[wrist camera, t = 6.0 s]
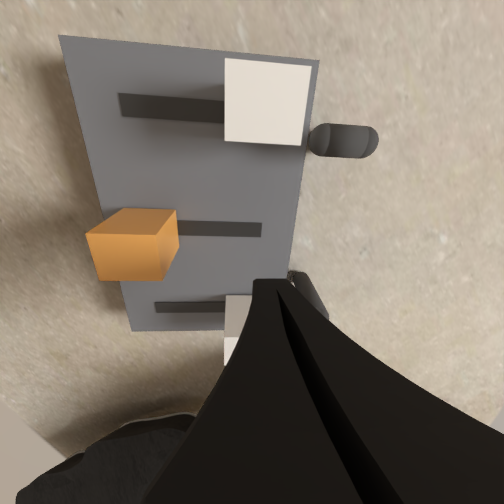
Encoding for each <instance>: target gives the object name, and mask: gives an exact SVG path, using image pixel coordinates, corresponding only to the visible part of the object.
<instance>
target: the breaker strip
mask: <svg viewBox="0 0 504 504" xmlns="http://www.w3.org/2000/svg"><path fill="white" fill-rule="evenodd" d="M58 37H59V41H60V45H61V49H62V53H63V57H64V61H65V65H66V69H67V73H68V77H69V81H70V85H71V89H72V93H73V97H74V101H75V105H76V109H77V113H78V117H79V121H80V125H81V129H82V134H83V138H84V142H85V146H86V150H87V154H88V158H89V162H90V166H91V170H92V174H93V178H94V182H95V186H96V190H97V194H98V198H99V202H100V206H101V210H102V214H103V218H104V221H105V220H106V219H108V218H109V217H111V216H112V215H114V214H115V213H117V212H118V211H120V210H121V209H123V208H145V209H175V210H176V218H177V228H178V238H179V248H178V250H177V252H176V254H175V256H174V259H173V261H172V263H171V265H170V267H169V269H168V271H167V273H166V275H165V277H164V279H163V281H119V282H120V286H121V290H122V294H123V298H124V302H125V306H126V310H127V314H128V318H129V322H130V326H131V330H132V331H200V330H224V329H225V306H226V295H252V287H253V280H255V279H265V278H287V273H288V266H289V260H290V253H291V246H292V240H293V233H294V226H295V220H296V213H297V207H298V200H299V193H300V187H301V180H302V173H303V167H304V160H305V153H306V147H307V140H308V133H309V127H310V120H311V113H312V107H313V100H314V94H315V87H316V80H317V74H318V67H319V60H311V59H301V58H291V57H280V56H270V55H260V54H250V53H240V52H230V51H219V50H209V49H199V48H189V47H179V46H168V45H158V44H148V43H138V42H128V41H117V40H107V39H97V38H87V37H77V36H67V35H58ZM225 58H231V59H241V60H252V61H262V62H273V63H283V64H293V65H304V66H312V68H311V75H310V82H309V89H308V97H307V104H306V111H305V118H304V125H303V132H302V140H301V146H299V145H283V144H267V143H251V142H234V141H225Z"/></svg>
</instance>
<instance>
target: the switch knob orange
mask: <svg viewBox="0 0 504 504" xmlns="http://www.w3.org/2000/svg"><path fill="white" fill-rule="evenodd" d="M85 234H86V238H87V241H88V244H89V248H90V251H91V254H92V258H93V261H94V265H95V268H96V271H97V275H98V278H99V281H163V279H164V277H165V275H166V273H167V271H168V269H169V267H170V265H171V263H172V261H173V259H174V256H175V254H176V252H177V250H178V248H179V238H178V228H177V218H176V210H175V209H145V208H123V209H121V210H120V211H118V212H117V213H115V214H114V215H112V216H111V217H109V218H108V219H106V220H105V221H103V222H102V223H100V224H99V225H97V226H96V227H94V228H93V229H91V230H90V231H88V232H87V233H85Z"/></svg>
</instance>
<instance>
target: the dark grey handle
mask: <svg viewBox="0 0 504 504" xmlns="http://www.w3.org/2000/svg"><path fill="white" fill-rule="evenodd" d="M378 142H379V137H378V134H377V132H376V130H374V129H373V128H372V127H368V126H357V125H343V124H329V123H324V124H320V125H318V126H317V127H316V128H314V129H313V131H312V132H311V134H310V136H309V147H310V149H311V151H312V152H313V153H314V154H315V155H318V156H325V157H342V158H365V157H367V156H369V155H371V154H372V153H373V152H374V151H375V149H376V148H377V145H378ZM293 282H294V285H295V287H296V289H297V290H298V291H299V292H300V293H301V294H302V295H303V296H304V297H305V298H306V299H307V300H308V301H309V302H310V303H311V304H312V305H313V306H314V307H315V308H316V309H317V310H318V311H319V312H320V313H321V314H322V315H323V316H324V317H326V318H327V319H328V320H329V314H328V312H327V310H326V308H325V306H324V305H323V303H322V301H321V299H320V297H319V295H318V293H317V292H316V290H315V288H314V286H313V284H312V282H311V280H310V279H309V277H308V275H307V274H306V273H304V272H298V273H296V274H295V275H294V277H293Z"/></svg>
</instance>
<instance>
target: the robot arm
mask: <svg viewBox="0 0 504 504" xmlns="http://www.w3.org/2000/svg"><path fill="white" fill-rule="evenodd" d="M139 504H504V434H502V433H500V432H499V431H497V430H495V429H493V428H491V427H489V426H487V425H485V424H483V423H481V422H479V421H478V420H476V419H474V418H472V417H470V416H469V415H467V414H465V413H464V412H462V411H460V410H458V409H457V408H455V407H453V406H451V405H450V404H448V403H446V402H444V401H443V400H441V399H439V398H438V397H436V396H434V395H433V394H431V393H429V392H428V391H426V390H424V389H423V388H421V387H419V386H418V385H416V384H415V383H413V382H411V381H410V380H408V379H407V378H405V377H404V376H402V375H401V374H399V373H398V372H396V371H395V370H393V369H392V368H390V367H389V366H387V365H386V364H384V363H383V362H381V361H380V360H378V359H377V358H375V357H374V356H373V355H371V354H370V353H369V352H367V351H366V350H365V349H363V348H362V347H361V346H359V345H358V344H357V343H355V342H354V341H353V340H351V339H350V338H349V337H348V336H346V335H345V334H344V333H343V332H342V331H340V330H339V329H338V328H337V327H336V326H335V325H333V324H332V323H331V322H330V321H329V320H328V319H327V318H326V317H324V316H323V315H322V314H321V313H320V312H319V311H318V310H317V309H316V308H315V307H314V306H313V305H312V304H311V303H310V302H309V301H308V300H307V299H306V298H305V297H304V296H303V295H302V294H301V293H300V292H299V291H298V290H297V289H296V288H295V287H294V286H293V285H292V284H291V283H290V282H289V280H288V279H287V278H265V279H255V280H253V287H252V301H251V305H250V308H249V312H248V315H247V318H246V321H245V324H244V326H243V329H242V332H241V334H240V337H239V339H238V341H237V344H236V346H235V348H234V350H233V352H232V354H231V357H230V359H229V361H228V362H227V364H226V366H225V368H224V370H223V372H222V374H221V376H220V378H219V379H218V381H217V383H216V385H215V387H214V388H213V390H212V392H211V393H210V395H209V397H208V398H207V400H206V401H205V403H204V405H203V406H202V408H201V409H200V411H199V413H198V414H197V416H196V417H195V419H194V421H193V422H192V424H191V425H190V427H189V428H188V430H187V432H186V433H185V435H184V436H183V438H182V439H181V440H180V442H179V443H178V445H177V446H176V448H175V449H174V450H173V452H172V453H171V455H170V456H169V458H168V459H167V460H166V462H165V463H164V465H163V466H162V468H161V469H160V470H159V472H158V473H157V475H156V476H155V478H154V479H153V480H152V482H151V483H150V485H149V486H148V488H147V489H146V491H145V493H144V495H143V497H142V499H141V501H140V503H139Z"/></svg>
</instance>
